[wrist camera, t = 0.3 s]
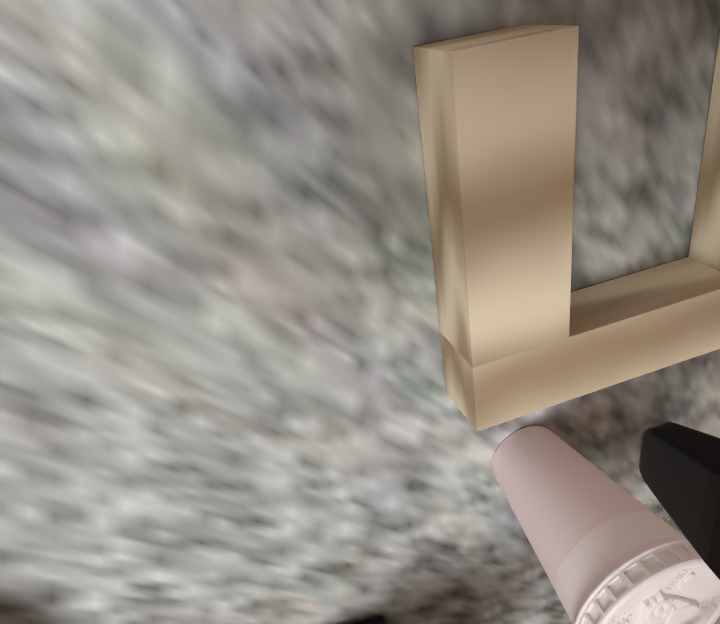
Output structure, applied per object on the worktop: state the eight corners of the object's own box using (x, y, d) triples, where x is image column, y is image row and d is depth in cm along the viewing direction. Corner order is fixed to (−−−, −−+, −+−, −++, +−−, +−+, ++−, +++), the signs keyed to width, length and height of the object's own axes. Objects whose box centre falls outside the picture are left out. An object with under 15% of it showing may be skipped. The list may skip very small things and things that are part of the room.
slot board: (749, 292, 30) (805, 319, 27) (445, 391, 26) (476, 431, 24) (816, -34, 22) (900, -41, 20) (412, 46, 19) (451, 51, 17)
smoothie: (495, 522, 32) (699, 830, 20) (447, 454, 28) (658, 777, 16) (593, 455, 32) (857, 723, 20) (556, 379, 28) (848, 647, 16)
